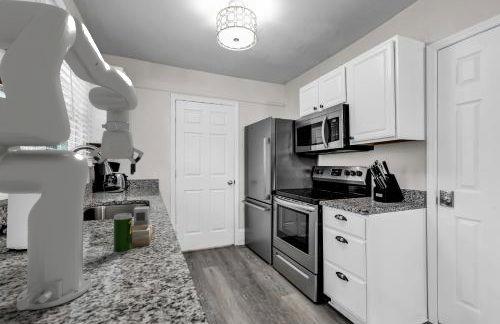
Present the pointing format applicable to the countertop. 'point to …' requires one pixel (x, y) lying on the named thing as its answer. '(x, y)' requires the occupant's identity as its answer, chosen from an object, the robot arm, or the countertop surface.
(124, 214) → the beer can
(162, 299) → the countertop surface
